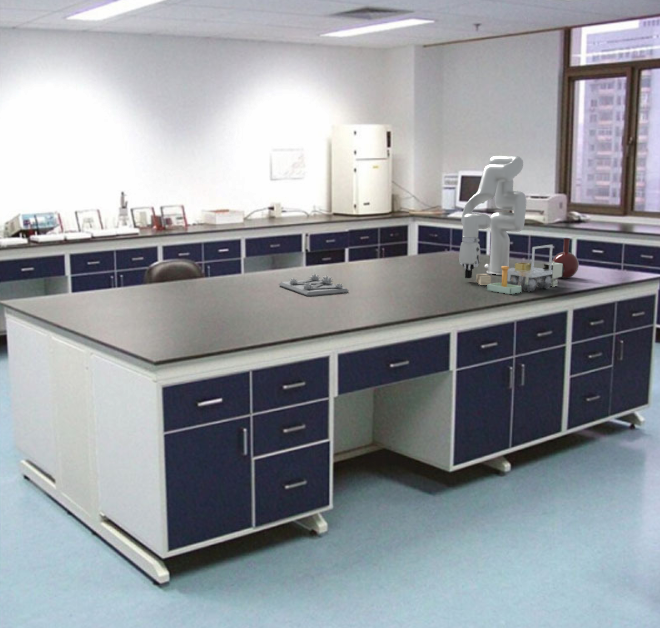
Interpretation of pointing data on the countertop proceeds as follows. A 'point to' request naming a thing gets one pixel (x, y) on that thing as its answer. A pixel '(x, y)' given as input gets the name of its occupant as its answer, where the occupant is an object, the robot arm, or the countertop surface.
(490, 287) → the tray
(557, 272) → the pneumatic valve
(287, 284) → the decorative plate
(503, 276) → the pin
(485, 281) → the block
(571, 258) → the round-bottom flask
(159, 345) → the countertop surface
